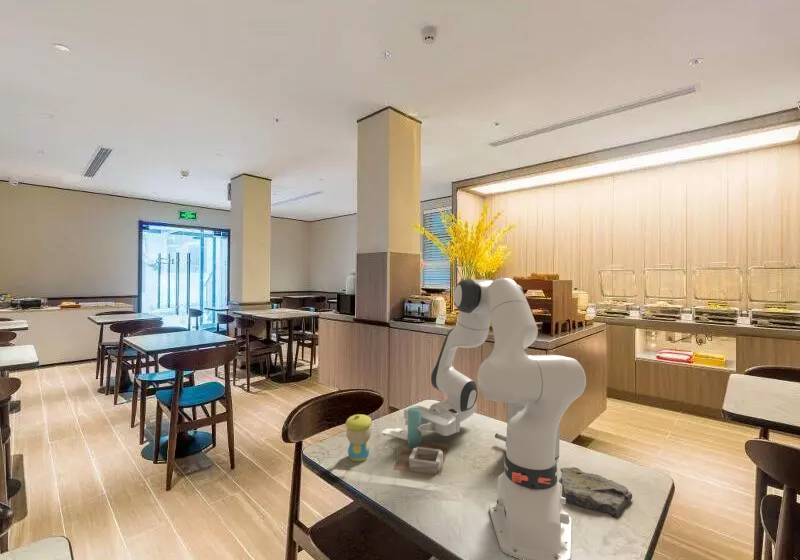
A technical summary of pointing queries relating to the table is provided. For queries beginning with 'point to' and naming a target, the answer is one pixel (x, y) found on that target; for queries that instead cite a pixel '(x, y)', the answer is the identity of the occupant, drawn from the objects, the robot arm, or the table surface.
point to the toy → (358, 436)
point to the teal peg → (414, 428)
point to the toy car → (396, 433)
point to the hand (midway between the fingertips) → (412, 425)
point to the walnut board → (423, 458)
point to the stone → (594, 491)
